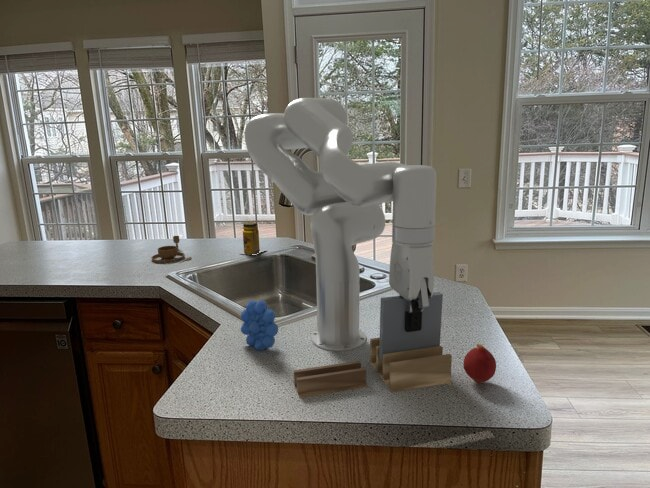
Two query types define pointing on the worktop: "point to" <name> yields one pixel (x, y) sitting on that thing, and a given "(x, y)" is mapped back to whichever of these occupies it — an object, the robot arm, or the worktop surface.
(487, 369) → the onion
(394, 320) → the plate
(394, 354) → the rack
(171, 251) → the place setting
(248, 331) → the grapes
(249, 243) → the condiment
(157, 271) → the worktop surface
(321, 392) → the plate stand
